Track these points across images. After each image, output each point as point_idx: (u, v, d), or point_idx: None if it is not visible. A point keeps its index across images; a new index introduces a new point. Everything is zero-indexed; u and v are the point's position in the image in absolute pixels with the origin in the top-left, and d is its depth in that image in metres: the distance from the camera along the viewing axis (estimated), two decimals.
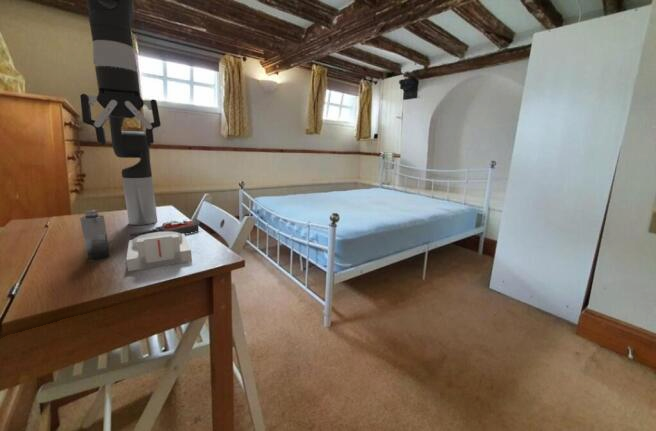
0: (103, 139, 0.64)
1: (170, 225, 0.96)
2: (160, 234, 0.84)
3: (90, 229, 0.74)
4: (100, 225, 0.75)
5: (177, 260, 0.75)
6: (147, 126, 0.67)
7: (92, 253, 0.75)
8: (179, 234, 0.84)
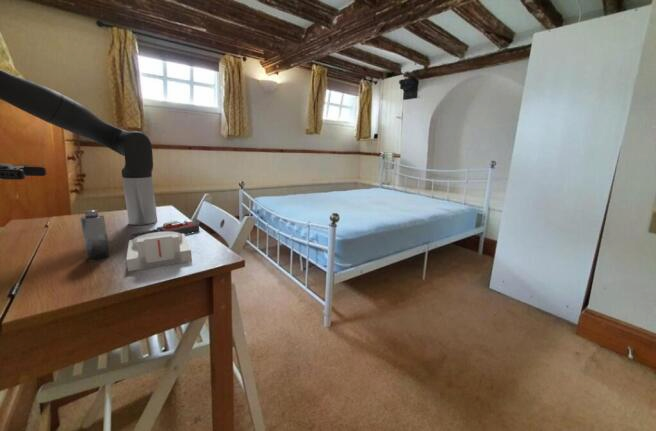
0: (38, 175, 0.73)
1: (170, 225, 0.96)
2: (160, 234, 0.84)
3: (90, 229, 0.74)
4: (100, 225, 0.75)
5: (177, 260, 0.75)
6: None
7: (92, 253, 0.75)
8: (179, 234, 0.84)
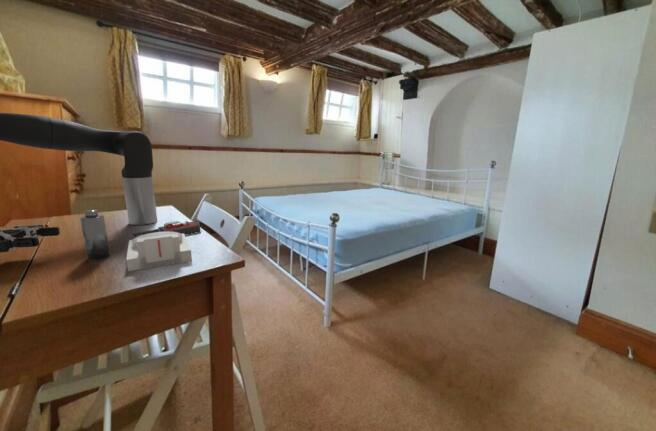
0: (53, 235, 0.78)
1: (171, 225, 0.96)
2: (160, 234, 0.84)
3: (90, 229, 0.74)
4: (100, 225, 0.75)
5: (177, 260, 0.75)
6: None
7: (92, 253, 0.75)
8: (179, 234, 0.84)
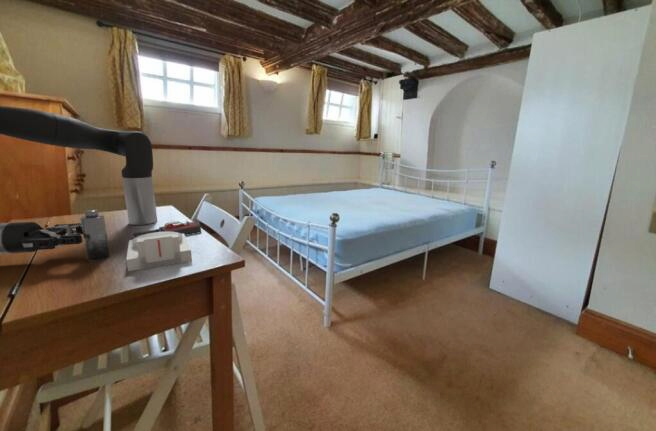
0: None
1: (172, 226, 0.96)
2: (160, 234, 0.84)
3: (90, 229, 0.74)
4: (100, 225, 0.75)
5: (177, 260, 0.75)
6: None
7: (92, 253, 0.75)
8: (179, 234, 0.84)
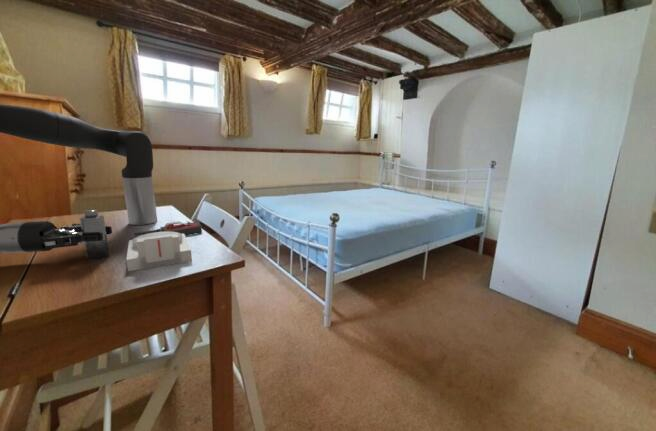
0: None
1: (172, 226, 0.96)
2: (160, 234, 0.84)
3: (90, 229, 0.74)
4: (99, 225, 0.75)
5: (177, 260, 0.75)
6: None
7: (92, 253, 0.75)
8: (179, 234, 0.84)
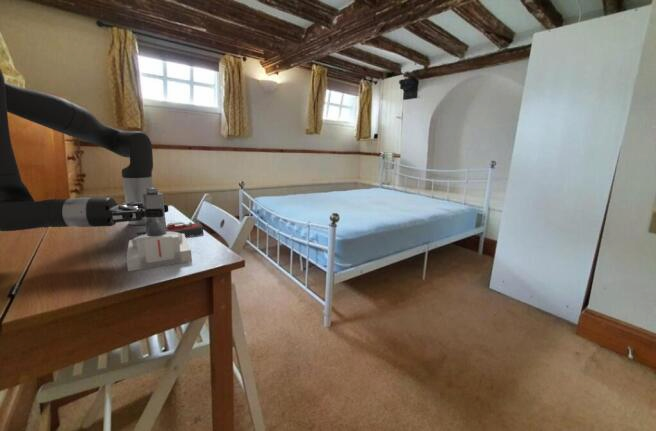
0: None
1: (173, 226, 0.95)
2: None
3: (152, 205, 0.76)
4: (160, 202, 0.78)
5: (177, 260, 0.75)
6: None
7: (152, 229, 0.78)
8: (179, 234, 0.84)
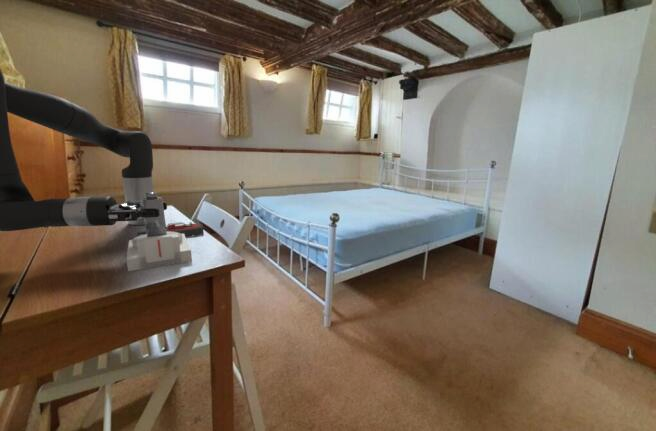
0: None
1: (173, 226, 0.95)
2: None
3: None
4: (159, 206, 0.78)
5: (177, 260, 0.75)
6: None
7: (152, 234, 0.78)
8: (179, 234, 0.84)
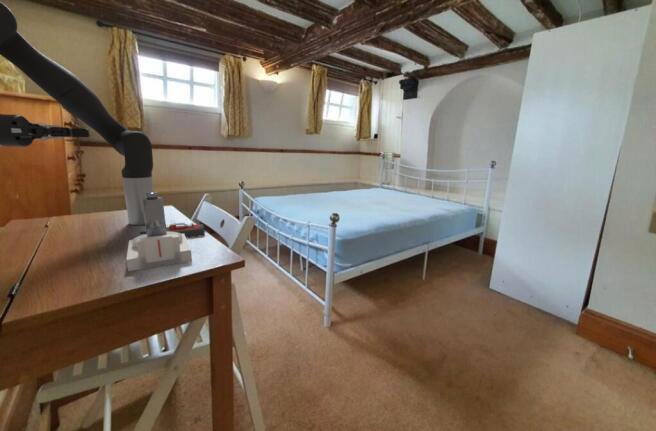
0: None
1: (175, 227, 0.95)
2: None
3: (151, 210, 0.77)
4: (160, 206, 0.78)
5: (177, 260, 0.75)
6: (49, 136, 0.70)
7: (152, 234, 0.78)
8: (179, 234, 0.84)
